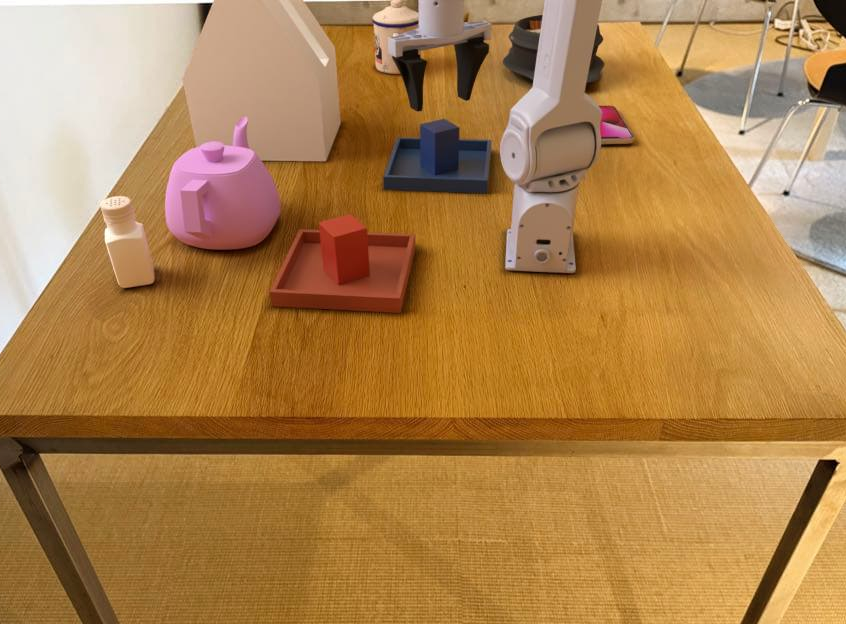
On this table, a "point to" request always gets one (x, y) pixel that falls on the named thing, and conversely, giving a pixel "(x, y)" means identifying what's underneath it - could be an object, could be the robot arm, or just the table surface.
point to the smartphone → (614, 127)
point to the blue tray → (414, 177)
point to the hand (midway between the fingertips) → (440, 103)
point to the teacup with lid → (391, 32)
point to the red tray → (376, 293)
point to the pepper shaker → (126, 243)
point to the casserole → (526, 49)
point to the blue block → (439, 146)
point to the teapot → (221, 195)
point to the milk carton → (264, 80)
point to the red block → (344, 248)
